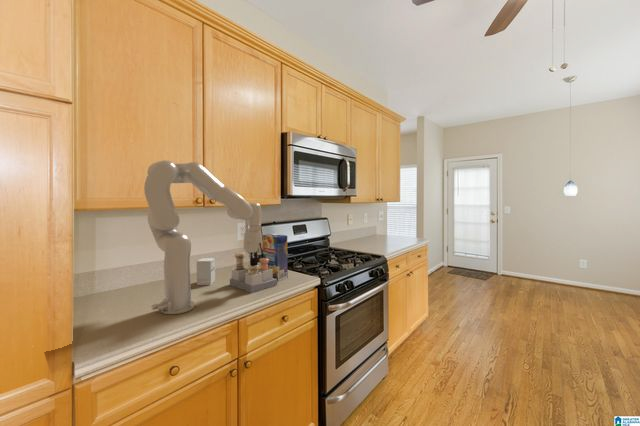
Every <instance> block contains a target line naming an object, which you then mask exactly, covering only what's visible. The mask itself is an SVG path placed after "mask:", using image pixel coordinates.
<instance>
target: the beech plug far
mask: <svg viewBox="0 0 640 426" xmlns="http://www.w3.org/2000/svg"><path fill="white" fill-rule="evenodd" d="M245 254H246V253H245V252H235V253H234V258H236V259H235V260H236V262H235V263H236V266H235V267H236V269H237V270H238V271H240V270H244V268H245V267H244V266H245V265H244V263H245V262H244V258H245V256H246V255H245Z"/></svg>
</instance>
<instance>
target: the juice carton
mask: <svg viewBox="0 0 640 426" xmlns="http://www.w3.org/2000/svg"><path fill="white" fill-rule="evenodd" d="M262 241H263V250H262V253H263V255H262V256H263V257H262V258H269V262H268V268H269V269H273V278H274V279H277V282H279V281H282V280H283V281H284V280H286V279H288V268H289V267H288V266H289V265H288V235H285V234H277V233H268V234H262Z"/></svg>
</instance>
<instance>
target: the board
mask: <svg viewBox="0 0 640 426" xmlns="http://www.w3.org/2000/svg"><path fill="white" fill-rule="evenodd" d="M257 272H258V274H256V275H250V271H249V268H247V267H244V270H240V271H238V270H237V269H236V268H232V269H231V278H229V286H233V287H235V288H237V289H240V290H243V291H244V292H248V293H250V294H252V293H256V292H259V291H263V290H265V289H269V288H272V287H276V286H278V281H277V279H274V278H273V269H269V268H268V270H266V271H261V268H259V269H257Z"/></svg>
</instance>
